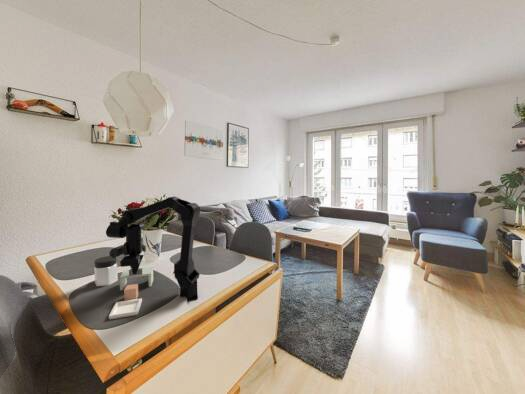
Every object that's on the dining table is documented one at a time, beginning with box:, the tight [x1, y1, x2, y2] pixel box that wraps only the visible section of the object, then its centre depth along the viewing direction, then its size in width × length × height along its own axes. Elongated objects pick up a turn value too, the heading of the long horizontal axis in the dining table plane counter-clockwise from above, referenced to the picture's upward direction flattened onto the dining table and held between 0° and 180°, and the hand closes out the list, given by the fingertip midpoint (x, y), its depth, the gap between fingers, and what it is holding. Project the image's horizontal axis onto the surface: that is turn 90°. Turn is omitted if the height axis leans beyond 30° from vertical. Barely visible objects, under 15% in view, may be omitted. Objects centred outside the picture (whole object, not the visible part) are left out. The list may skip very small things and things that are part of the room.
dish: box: [108, 298, 143, 320], centre depth 79 cm, size 9×9×1 cm
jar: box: [93, 255, 119, 287], centre depth 99 cm, size 9×8×12 cm
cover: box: [119, 266, 154, 291], centre depth 97 cm, size 12×7×8 cm, turn 110°
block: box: [123, 283, 139, 301], centre depth 86 cm, size 4×4×5 cm
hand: (134, 273), depth 93 cm, fingers closed
